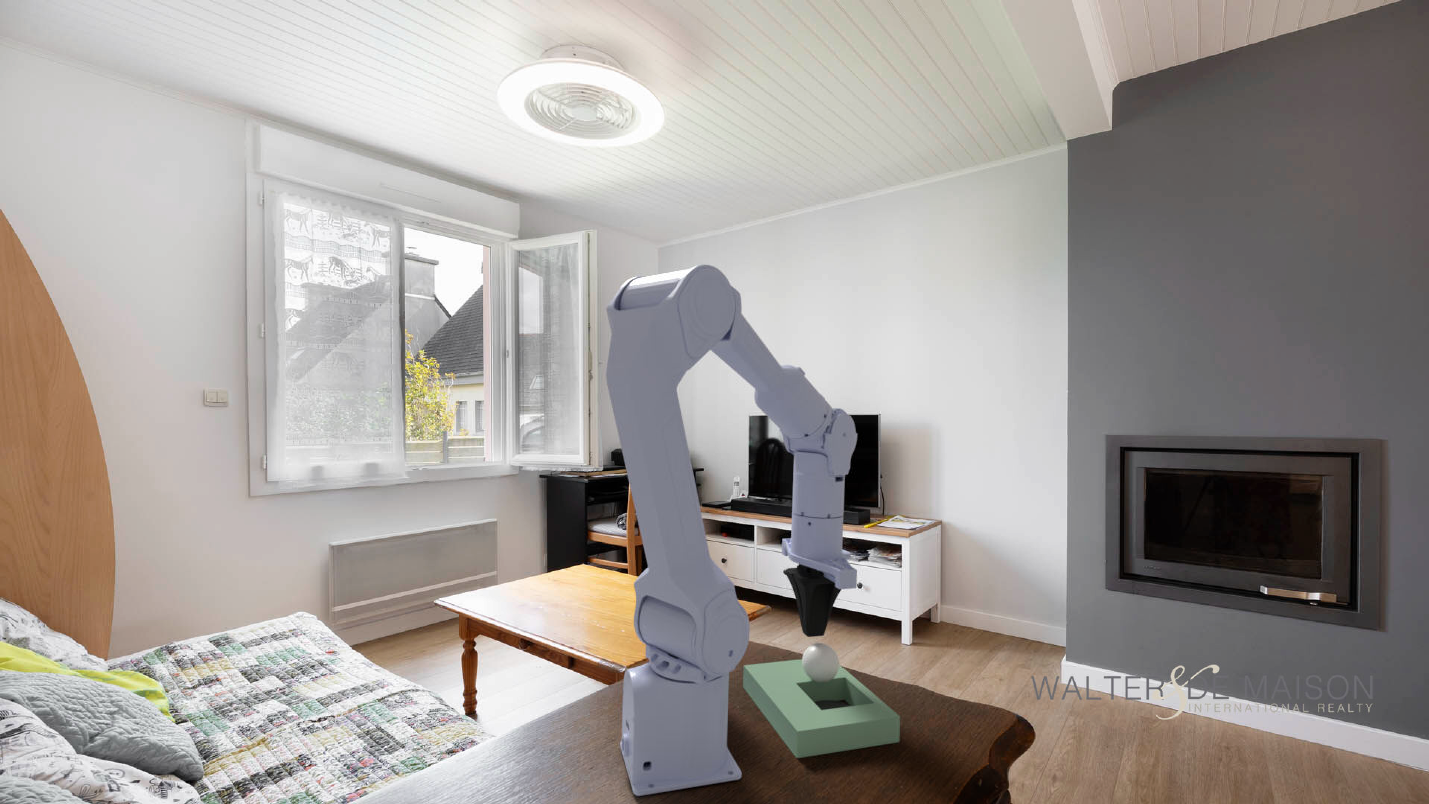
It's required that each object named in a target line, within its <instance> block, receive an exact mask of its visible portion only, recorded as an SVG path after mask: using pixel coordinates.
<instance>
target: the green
mask: <svg viewBox="0 0 1429 804" xmlns="http://www.w3.org/2000/svg"><path fill="white" fill-rule="evenodd" d="M842 667H843V666H842V665H840V664H839V669H838V672H837V674H836V676H835V677H834V678H833V679H832V680H830V681H828V682H824V683H819V682H816V681H813V680H812V679H810V678H809V677H808V676H807V675H806V673H805V671H804V669H803V666H802V658H801V659H790V660H781V661H780V660H779V661H773V662H772V661H771V662H765V663H764V662H763V663H755V664H753V663H752V664H745V665H744V664H743V671H742V674H743V676H742V677H743V678H742V679H743V680H742V688H743V689H744V691H745V693H747V694H748V696H749V697H750V698H751V700H752V701H753V703H754V704H755V705H756V706H757V708H758V709H759V710H760V713H762V715H763V716H764V717H765V718H766V720H767V721H768V722H769V723H770V725H771V726H772V728H773V729H774V730H775V732H776V733H777V735H779V737H780V739H781V740H782V741H783V742H784V744H785V745H786V747H788V748H787V749H788V750H789V751H791V754H793V756H794V757H795V758H796V759H800V758H801V759H802V758H807V757H808V758H809V757H813V756H819V755H825V754H833V753H839V752H845V751H850V750H858V749H863V748H868V747H876V746H883V745H889V744H896V743H900V734H901V733H900V731H901V729H900V727H901V716H900V715H899V714H898V713H897V712H896V711H894V710H893V709H892V708H891V707H889V705H887V704H886V703H885V702H884V701H883V700H882V699H880V697H878V696H877V695H876V694H874V693H873V692H872V691H871V690H870V689H869V688H868V687H866V686H865V685H864V684H863V683H861V681H859V680H858V679H857V678H856V677H855V676H853V675H852V674H851V673H850V671H848V670H847V669H846V668H844V667H843V668H842ZM843 700H844V701H845V702H847V703H845V702H842V701H843Z"/></svg>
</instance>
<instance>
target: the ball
mask: <svg viewBox="0 0 1429 804" xmlns="http://www.w3.org/2000/svg"><path fill="white" fill-rule="evenodd" d="M801 659H802V666H803V669H804V671H805V673H806V675H807V676H808V677H809V678H810V679H812V680H813V681H816V682H819V683H824V682H828V681H830V680H832V679H833V678H834V677H835V676H836V674H837V672H838V669H839V665H840V660H839V656H838V654H837V652H836V651H835V649H834V648H833V647H831V646H830V645H828V644H826V643H823V642H817V643H813V644H811V645H809V646H808V647H807V648H806V649H805V651H804V652H803V655H802V658H801Z"/></svg>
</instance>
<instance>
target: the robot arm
mask: <svg viewBox="0 0 1429 804" xmlns="http://www.w3.org/2000/svg"><path fill="white" fill-rule="evenodd" d="M742 306H743V305H742V296H741V293H740V292H739V291H738V290H737V289H736V288H735V287H734V286H732V285H731V283H730V281H729V279H728V278H727V277H726V275H725V274H724V273H723V272H722V271H721V270H720V269H719V268H718V267H715V266H713V265H710V264H699V265H695V266H693V267H691V268H688V269H687V268H686V269H682V270H675V271H671V272H666V273H665V272H664V273H659V274H656V275H655V274H654V275H650V276H635V277H632V278H629V279H628V280H626V281H625V282H624V283H623V284H622V285H621V286H620V287H619V289H618V291H617V292H616V293H615V295H614V296H613V297H612V299H611V301H609V303H608V305H607V306H606V314H607V315H606V316H607V319H608V325H609V328H610V333H611V336H610V341H609V342H610V344H609V351H608V357H607V364H606V369H605V370H606V372H605V373H606V374H605V377H606V385H607V390H608V394H609V398H610V399H609V400H610V402H611V403H610V404H611V407H612V412H613V416H614V417H613V418H614V421H615V425H616V430H617V435H618V438H619V443H620V448H621V452H622V456H623V462H624V465H625V469H626V474H627V480H628V483H629V487H630V492H631V496H632V502H633V505H634V510H635V514H636V519H637V522H638V528H639V532H640V537H641V541H642V546H643V549H644V554H645V559H646V563H647V568H645V569H644V570H643V572H641V574H640V575H639V576H638V577H636V579H635V581H634V582H633V587H634V591H635V609H634V615H633V627H634V633H635V634H636V637H637V638H638V639H639V641H641V642H642V643H643V644H644V645H645V658H646V659H648V661H647V662H646V663H644V664H642V665H639V666H635V667H631V668H628V669H626V670H625V672H624V676H623V684H622V685H623V686H622V687H623V688H622V711H621V712H622V713H621V714H622V715H621V716H622V717H621V718H622V719H621V720H622V721H621V741H620V743H619V744H620V745H619V747H620V750H621V754H622V757H623V761H624V765H625V767H626V771H627V775H628V779H629V782H630V786H631V789H632V793H633V794H634V795H635V796H637V797H641V796H646V795H648V796H649V795H652V794H658V793H664V792H671V791H676V790H683V789H688V788H694V787H701V786H707V785H713V784H720V783H726V782H731V781H738V780H740V779H741V778H742V775H743V774H742V771H741V769H740V766H739V765H738V764H737V762H736V760H735V759H734V757H733V755H732V753H731V752H730V750H729V748H728V720H729V719H728V718H729V717H728V715H729V714H728V713H729V712H728V711H729V687H730V685H729V684H730V679H729V678H730V673H731V672H733V671H735V670H736V667H737V666H738V664H739V663H740V662H741V660H742V659H743V657H744V655H745V654H746V651H747V649H748V645H749V642H750V641H749V640H750V631H751V629H750V628H751V627H750V626H751V625H750V618H749V616H748V613H747V611H746V609H745V608H744V607H743V605H742V604H741V603H740V601H739V599H738V597H737V593H736V588H735V584H734V583H733V581H732V580H731V579H730V578H729V577H728V576H727V574H726V573H725V572H724V571H723V570H722V569H721V568H720V567H719V565H718V564H717V563H716V562H715V560H713V559H712V557H711V555H710V551H709V546H708V541H707V536H706V530H705V524H704V521H703V516H702V510H701V504H700V501H699V495H698V490H697V484H696V480H695V476H694V470H693V465H692V461H691V455H690V450H689V445H688V441H687V436H686V428H685V426H684V420H683V414H682V410H681V404H680V399H679V395H678V386H679V384H680V383H681V381H682V380H683V378H684V376H685V375H686V373H687V372H688V371H689V370H691V369H692V368H693V367H694V366H695V365H696V364H697V363H698V362H699V361H701V359H703V357H705V355H707V354H708V352H710V351H711V352H712V353H713V354H714V355H716V356H717V357H718V358H719V359H720V360H722V361H723V362H724V363H725V364H726V365H727V366H729V367H730V368H731V369H732V370H733V371H735V373H736V374H738V375H739V376H740V377H741V378H742V379H743V380H745V381H746V382H747V383H748V384H749V385H750V386H751V387H753V388H754V389H755V390H754V394H753V396H754V398H753V399H754V401H755V405H756V407H758V409H759V410H761V411H762V413H764V414H765V415H766V416H767V417H768V419H770V420H771V422H772V423H773V424H774V425H776V426H777V428H779V432H781V434H782V439H783V443H784V446H785V449H786V451H787V452H788V453H791V454H792V455H793V473H792V474H793V476H792V477H793V478H792V479H793V481H792V503H791V504H792V505H791V506H792V508H791V511H792V512H791V534H790V535H791V536H790V538H782V542H781V555H783V556H785V557H788V559H789V560H790V561H791V562H793V563H796V564H797V565H796V567H790V568H786V569H785V575H786V577H787V579H788V581H789V583H790V585H791V589H792V591H793V593H794V597H795V600H796V605H797V610H798V616H799V621H800V627H801V629H802V634H804V635H805V636H806V637H807V638H814V637H823V636H825V633H826V629H827V627H828V623H829V620H830V617H831V614H832V613H831V612H832V610H833V607H834V604H835V602H836V600H837V598H838V596H839V595H840V592H841V591H842V590H851V589H857V585H858V584H857V581H858V569H856V568H854V567H853V566H852V565H851V564H850V563H849V560H850V559H851V555H852V553H851V552H850V551H847V550H845V549H843V540H844V539H843V538H844V537H843V536H844V535H843V534H844V533H843V532H844V514H845V513H844V511H845V509H844V508H845V507H844V506H845V478H846V475H848V474H849V472H850V469H851V459H852V456H853V453H854V451H855V449H856V445H857V441H858V433H857V431H856V424H855V421H854V419H853V417H852V415H850V414H848V413H847V412H846V411H845V410H844V409H842V408H836V407H835V408H833V407H832V406H831V404H830V403H829V402H828V401H827V400H826V398H825V397H824V396H823V395H822V393H820V392H819V391H818V390H817V388H816V387H815V386H814V385H813V384H812V383H811V381H809V380H808V378H807V377H806V372H805V371H804V369H802V368H801V366H794V365H790V364H783V365H781V364H780V363H779V362H778V360H777V359H776V357H775V356H774V355H773V354H772V352H771V351H770V349H769V348H768V347H767V345H766V344H765V343H764V342H763V340H762V339H761V337H760V336H759V335H758V334H757V332H756V331H755V329H754V327H752V325H751V324H750V322H749V321H748V320H747V319H746V317H745V316H744V314H743V313H742Z"/></svg>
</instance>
